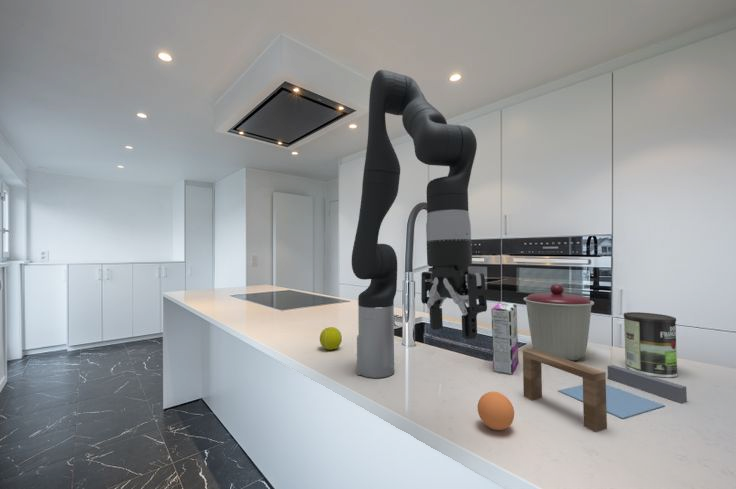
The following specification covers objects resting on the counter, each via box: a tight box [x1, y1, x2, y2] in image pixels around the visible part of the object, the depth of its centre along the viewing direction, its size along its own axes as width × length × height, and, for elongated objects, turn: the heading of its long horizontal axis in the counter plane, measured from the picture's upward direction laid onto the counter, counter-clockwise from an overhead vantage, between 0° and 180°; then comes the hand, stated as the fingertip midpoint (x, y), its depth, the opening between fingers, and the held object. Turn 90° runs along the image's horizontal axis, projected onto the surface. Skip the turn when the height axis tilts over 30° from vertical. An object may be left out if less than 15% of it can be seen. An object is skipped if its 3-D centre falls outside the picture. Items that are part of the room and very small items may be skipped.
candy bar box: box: [490, 302, 520, 375], centre depth 87 cm, size 11×5×16 cm, turn 148°
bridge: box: [522, 348, 608, 433], centre depth 63 cm, size 3×15×10 cm, turn 22°
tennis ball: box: [319, 326, 343, 351], centre depth 104 cm, size 7×7×7 cm
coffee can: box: [623, 311, 678, 379], centre depth 84 cm, size 10×10×14 cm
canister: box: [523, 283, 595, 362], centre depth 96 cm, size 18×18×21 cm
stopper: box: [607, 364, 688, 404], centre depth 72 cm, size 2×14×3 cm, turn 22°
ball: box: [477, 391, 515, 431], centre depth 57 cm, size 6×6×6 cm
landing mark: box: [557, 384, 666, 420], centre depth 68 cm, size 13×13×1 cm
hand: (451, 333), depth 55 cm, fingers open, 8 cm apart
